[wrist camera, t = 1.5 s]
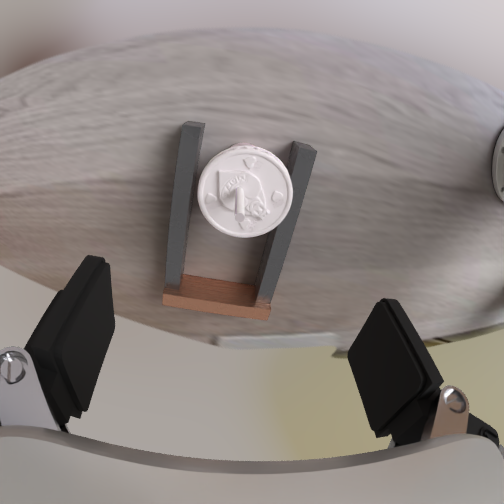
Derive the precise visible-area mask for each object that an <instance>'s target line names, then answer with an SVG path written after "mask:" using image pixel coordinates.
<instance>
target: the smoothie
mask: <svg viewBox="0 0 504 504" xmlns="http://www.w3.org/2000/svg"><path fill="white" fill-rule="evenodd" d="M197 195H198V203H199V206H200V209H201V212H202V213H203V215H204V217H205V218H206V220H207V221H208V222H209V223H210V224H211V225H212V226H213V227H214V228H216V229H217V230H219V231H221V232H222V233H225V234H227V235H230V236H234V237H240V238H249V237H255V236H259V235H262V234H265V233H267V232H269V231H271V230H272V229H274V228H275V227H276V226H278V225H279V224H280V223H281V222H282V221H283V219H284V218H285V217H286V215H287V213H288V211H289V209H290V207H291V203H292V198H293V187H292V182H291V179H290V176H289V173H288V170H287V169H286V167H285V166H284V164H283V163H282V162H281V160H280V159H278V158H277V157H276V156H275V155H274V154H272V153H271V152H269V151H267V150H264V149H262V148H260V147H255V146H254V145H252V144H249V143H237V144H235V145H233V146H231V147H230V148H229V149H226V150H224V151H221V152H220V153H219V154H217V155H216V156H215V157H213V158H212V159H211V160H210V161H209V163H208V164H207V165H206V166H205V168H204V169H203V172H202V174H201V177H200V179H199V185H198V194H197Z"/></svg>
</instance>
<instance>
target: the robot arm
mask: <svg viewBox="0 0 504 504" xmlns="http://www.w3.org/2000/svg"><path fill="white" fill-rule="evenodd" d="M492 177H493V184H494V188H495V191H496V193H497V195H498V197H499V198H500V199H501V200H502V201H503V202H504V129H503V131H502V132H501V134H500V136H499V138H498V140H497V143H496V146H495V150H494V155H493V162H492ZM114 329H115V318H114V309H113V299H112V288H111V274H110V265H109V263H105V259H104V258H103V257H97V256H92V255H87V256H86V257H85V259H84V260H83V262H82V263H81V265H80V266H79V267H78V269H77V270H76V272H75V273H74V275H73V276H72V278H71V279H70V281H69V282H68V284H67V285H66V287H65V288H64V290H60V291H59V292H58V293H57V294H56V296H55V297H54V299H53V300H52V302H51V304H50V305H49V307H48V308H47V310H46V312H45V313H44V315H43V317H42V318H41V320H40V322H39V323H38V325H37V327H36V328H35V330H34V332H33V334H32V335H31V337H30V339H29V341H28V342H27V344H26V346H25V348H24V349H22V348H20V347H14V346H12V347H7V348H4V349H2V350H0V504H504V448H503V446H502V445H499V438H498V434H497V432H496V430H495V429H493V428H492V427H491V426H490V425H488V424H486V423H484V422H483V421H482V420H480V419H479V418H477V417H475V416H474V415H472V414H471V413H469V402H468V399H467V397H466V396H465V394H464V393H463V392H462V391H461V390H460V389H459V388H456V387H454V386H450V385H448V386H445V387H444V388H443V389H442V390H440V388H439V386H440V385H441V384H442V383H443V382H444V380H443V378H442V376H441V375H440V373H439V371H438V369H437V367H436V365H435V363H434V361H433V360H432V358H431V356H430V354H429V353H428V351H427V349H426V347H425V345H424V343H423V342H422V340H421V338H420V336H419V335H418V333H417V331H416V330H415V328H414V326H413V325H412V323H411V321H410V320H409V318H408V316H407V315H406V313H405V311H404V310H403V308H402V306H401V305H400V303H399V302H398V301H397V300H395V299H386V298H383V299H381V300H380V302H377V303H376V305H375V306H374V308H373V310H372V312H371V314H370V315H369V317H368V319H367V321H366V322H365V324H364V326H363V327H362V329H361V331H360V333H359V334H358V336H357V338H356V339H355V341H354V343H353V344H352V346H351V347H350V349H349V351H348V361H349V363H350V366H351V369H352V372H353V375H354V378H355V381H356V384H357V387H358V390H359V393H360V396H361V399H362V402H363V405H364V408H365V411H366V415H367V418H368V421H369V424H370V427H371V429H372V430H373V431H374V432H375V435H376V438H379V437H385V436H388V435H389V434H391V435H392V439H391V441H390V444H389V446H388V449H384V450H379V451H374V452H368V453H362V454H356V455H349V456H340V457H332V458H323V459H311V460H296V461H228V460H211V459H200V458H190V457H182V456H174V455H167V454H161V453H155V452H149V451H144V450H138V449H132V448H128V447H123V446H118V445H113V444H109V443H105V442H101V441H97V440H93V439H89V438H86V437H81V436H77V435H73V434H71V433H70V431H69V429H68V427H67V425H66V423H68V422H69V419H70V416H73V417H76V418H79V419H80V418H81V414H82V411H84V412H86V411H87V410H88V408H89V404H90V401H91V398H92V394H93V391H94V388H95V385H96V382H97V379H98V375H99V373H100V370H101V367H102V364H103V361H104V358H105V355H106V352H107V350H108V347H109V344H110V341H111V338H112V336H113V333H114Z"/></svg>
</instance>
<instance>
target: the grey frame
mask: <svg viewBox="0 0 504 504" xmlns="http://www.w3.org/2000/svg"><path fill="white" fill-rule="evenodd" d="M204 127H205V123H199V122H192V121H188V122H186V123H184V124H183V125H182V131H181V137H180V144H179V150H178V157H177V164H176V171H175V179H174V187H173V195H172V204H171V214H170V224H169V234H168V246H167V259H166V274H165V288H164V292H163V304H162V305H166V306H172V307H178V308H184V309H190V310H196V311H202V312H209V313H216V314H222V315H230V316H237V317H244V318H252V319H260V320H268V317H269V314H270V311H271V307H270V303H271V300H272V297H273V294H274V291H275V287H276V284H277V281H278V278H279V275H280V272H281V269H282V266H283V263H284V260H285V257H286V253H287V250H288V247H289V244H290V241H291V237H292V234H293V231H294V228H295V225H296V221H297V218H298V215H299V211H300V208H301V205H302V202H303V198H304V195H305V192H306V188H307V185H308V181H309V178H310V175H311V171H312V168H313V164H314V161H315V157H316V154H317V151H316V150H315V149H314V148H312V147H311V146H310V145H307V144H303V143H300V142H295V141H293V145H292V149H291V153H290V157H289V160H288V164H287V168H286V169H287V170H288V173H289V176H290V179H291V182H292V187H293V198H292V203H291V207H290V209H289V211H288V213H287V215H286V217H285V218H284V219H283V221H282V222H281V223H280V224H279V225H278V226H276V227H275V228H274V229H272V230H271V231H269V235H268V238H267V242H266V246H265V249H264V253H263V257H262V260H261V264H260V268H259V271H258V275H257V278H256V282H255V285H248V284H242V283H235V282H229V281H222V280H216V279H210V278H203V277H197V276H191V275H185V274H183V271H184V262H185V253H186V244H187V236H188V228H189V221H190V213H191V206H192V199H193V193H194V186H195V179H196V173H197V167H198V161H199V155H200V149H201V144H202V138H203V133H204Z"/></svg>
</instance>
